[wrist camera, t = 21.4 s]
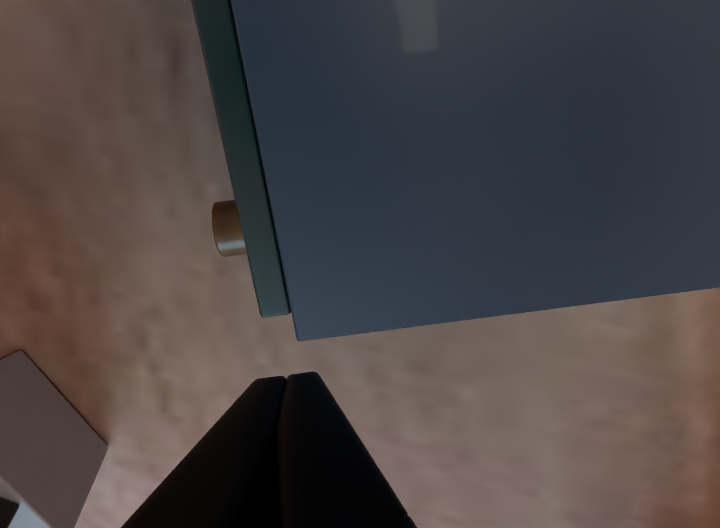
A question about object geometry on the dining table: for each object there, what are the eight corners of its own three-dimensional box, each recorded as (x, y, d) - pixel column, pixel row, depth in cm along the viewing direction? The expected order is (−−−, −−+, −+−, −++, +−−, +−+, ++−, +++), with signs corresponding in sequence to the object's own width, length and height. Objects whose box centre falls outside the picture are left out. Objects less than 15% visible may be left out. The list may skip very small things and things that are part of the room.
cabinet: (304, 238, 22) (297, 342, 16) (233, -165, 17) (188, -213, 11) (680, 189, 22) (801, 277, 16) (719, -233, 17) (913, -316, 11)
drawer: (242, 247, 22) (222, 324, 17) (154, -152, 17) (96, -179, 13) (657, 193, 21) (738, 257, 17) (689, -226, 17) (813, -280, 12)
